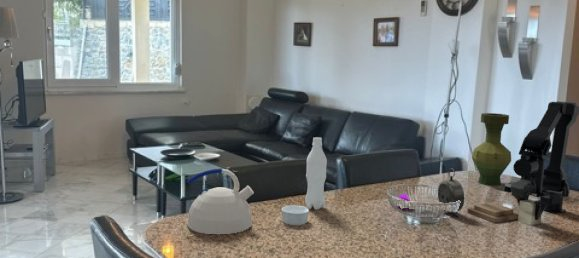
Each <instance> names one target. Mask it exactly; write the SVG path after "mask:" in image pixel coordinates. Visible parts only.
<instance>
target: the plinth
mask: <svg viewBox="0 0 579 258" xmlns="http://www.w3.org/2000/svg"><path fill="white" fill-rule="evenodd" d="M467 214H470V215H472V216H475V217H477V218H480V219H484V220H486V221H488V222H491V223H494V224H497V223H502V222H508V221H513V220H518V215H519V213H517V212H514V209H513V208H511V207H507V206H504V205H501V204H498V203H495V202H489V203H488V202H487V203H481V204H475V205H474V207H472V208H471V207H470V208H467Z"/></svg>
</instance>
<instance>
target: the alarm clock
mask: <svg viewBox="0 0 579 258" xmlns="http://www.w3.org/2000/svg"><path fill="white" fill-rule="evenodd" d="M451 170H452V171H453V176H452V175H450V174H451V173H450V171H451ZM455 173H456V171H455V170H454V168H452V167H451V168H449V169H448V176H449V179H447V180H446V179H445V180H442V181H441V182H440V183H439V185H438V188H437V199H438V202H443V203H449V202H456V201H458V200H460V201H461V203H460V206H459V209H458V211H457V212H456V213H455V215H456V217H457V218H459V213H458V212H459V211H461V210H462V209H463V206H464V205H465V194H464V193H465V192H464V188H463V186H462V184H461V183H460V182H459V181H458V180H457V179H453V178H454V177H455Z"/></svg>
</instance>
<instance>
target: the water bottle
mask: <svg viewBox="0 0 579 258" xmlns="http://www.w3.org/2000/svg"><path fill="white" fill-rule="evenodd" d="M322 141H323V139H322V137H319V136H316V137H313V138H312V143H311V145H312V147H311V151H309V153H308V155H307V157H306V170H305V171H306V174H305V177H306V178H305V179H306V183H307V192H306V195H305V197H304V202H305V207H306V208H308V209H309V210H311V209H312V208H314V211H315V210H316V211H318V210H320V209H323V208H324V206H325V204H326V196H325V189H324V187H325V181H326V179H327V164H328V159H327V157H326V154H325V152H324V149H323V142H322Z"/></svg>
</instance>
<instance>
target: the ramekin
mask: <svg viewBox="0 0 579 258" xmlns="http://www.w3.org/2000/svg"><path fill="white" fill-rule="evenodd" d="M309 212H310V209H309V208H308V207H307V206H303V205H287V206H285V205H284V206H283V207H281V213H282V214H281V215H282V223H284V224H285V223H286V224H285V225H288V224H290V225H289V226H303V225H306V224H307V222H308V217H309ZM305 223H306V224H305ZM302 224H303V225H302Z"/></svg>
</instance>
